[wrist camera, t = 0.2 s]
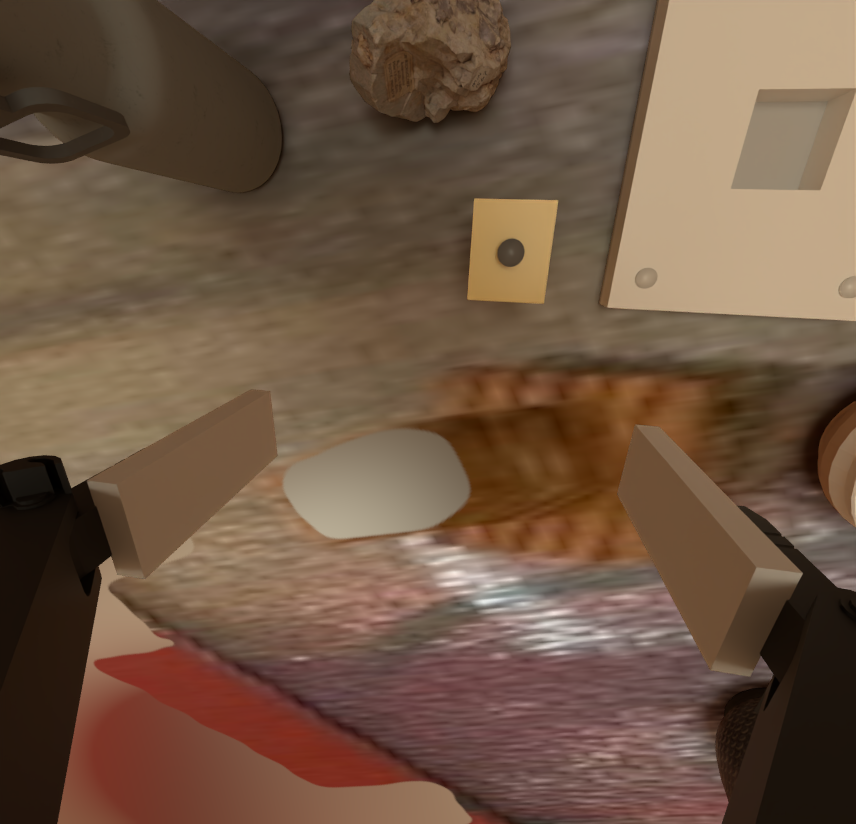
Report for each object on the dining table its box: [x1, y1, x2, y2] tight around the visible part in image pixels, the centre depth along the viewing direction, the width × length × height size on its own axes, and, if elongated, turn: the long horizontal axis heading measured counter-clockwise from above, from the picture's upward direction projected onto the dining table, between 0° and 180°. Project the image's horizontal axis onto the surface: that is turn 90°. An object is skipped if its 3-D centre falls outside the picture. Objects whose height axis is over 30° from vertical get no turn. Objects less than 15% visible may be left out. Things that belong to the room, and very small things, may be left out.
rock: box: [349, 0, 511, 123], centre depth 28 cm, size 9×12×10 cm
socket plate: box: [599, 0, 856, 321], centre depth 29 cm, size 24×20×4 cm
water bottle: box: [0, 0, 282, 193], centre depth 23 cm, size 10×10×28 cm
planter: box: [715, 688, 766, 802], centre depth 44 cm, size 17×17×16 cm
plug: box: [467, 199, 558, 304], centre depth 30 cm, size 6×5×13 cm
